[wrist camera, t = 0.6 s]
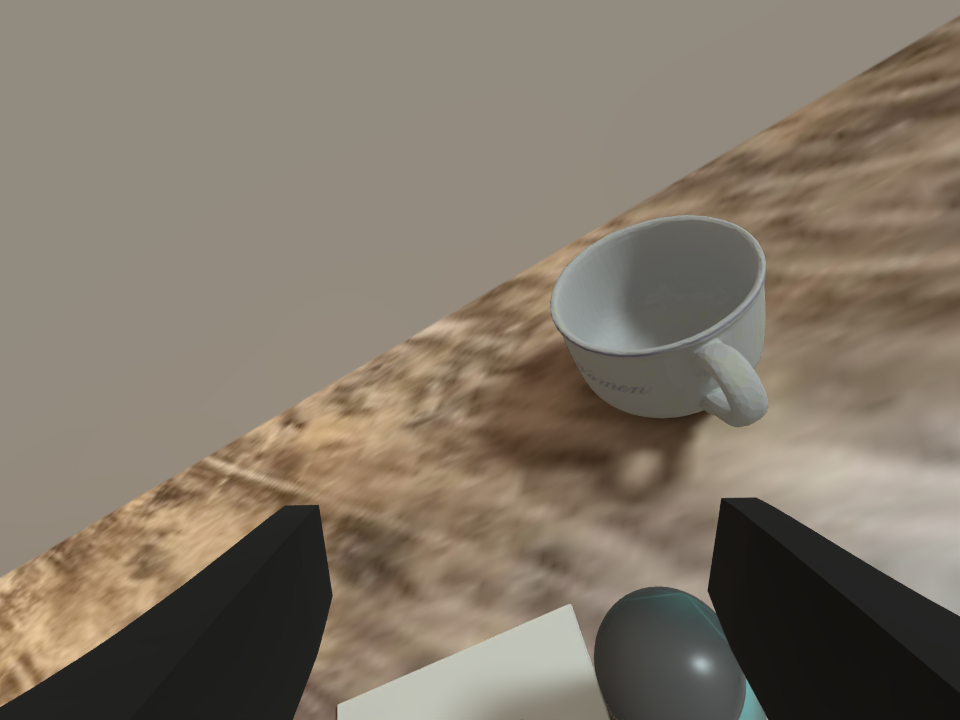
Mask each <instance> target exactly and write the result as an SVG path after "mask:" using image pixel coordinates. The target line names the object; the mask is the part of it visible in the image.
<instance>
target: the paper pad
mask: <svg viewBox="0 0 960 720" xmlns="http://www.w3.org/2000/svg"><path fill="white" fill-rule="evenodd" d="M337 720H611V719H610V716H609V713H608V710H607V707H606V704H605V701H604V698H603V695H602V692H601V690H600V687H599V684H598V681H597V677H596V675H595V672H594V669H593V666H592V663H591V660H590V657H589V654H588V651H587V648H586V645H585V642H584V639H583V636H582V634H581V631H580V628H579V625H578V622H577V619H576V616H575V613H574V610H573V607H572V605H571V604H568V605H566V606H563V607H561V608H559V609H557V610H554V611H552V612H550V613H547V614H545V615H543V616H540V617H538V618H536V619H534V620H531V621H529V622H527V623H524V624H522V625H520V626H517V627H515V628H513V629H511V630H508V631H506V632H504V633H501V634H499V635H497V636H495V637H492V638H490V639H488V640H485V641H483V642H481V643H478V644H476V645H474V646H472V647H469V648H467V649H465V650H462V651H460V652H458V653H456V654H453V655H451V656H449V657H446V658H444V659H442V660H439V661H437V662H435V663H433V664H430V665H428V666H426V667H423V668H421V669H419V670H417V671H414V672H412V673H410V674H407V675H405V676H403V677H400V678H398V679H396V680H394V681H391V682H389V683H387V684H384V685H382V686H380V687H377V688H375V689H373V690H371V691H368V692H366V693H364V694H361V695H359V696H357V697H355V698H352V699H350V700H348V701H345V702H343V703H341V704H338V708H337Z"/></svg>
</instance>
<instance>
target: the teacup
mask: <svg viewBox="0 0 960 720" xmlns="http://www.w3.org/2000/svg"><path fill="white" fill-rule="evenodd" d="M765 277H766V261H765V256H764V253H763V251H762V249H761V247H760V245H759V243H758V242H757V240H756V239H755V238H754V237H753V236H752V235H751V234H750V233H748V232H747V231H746V230H744V229H743V228H741V227H739V226H738V225H735V224H733V223H730V222H727V221H724V220H721V219H716V218H712V217H706V216H693V215H682V216H670V217H663V218H658V219H653V220H648V221H645V222H641V223H638V224H635V225H631V226H629V227H626V228H624V229H621V230H618V231H615V232H612V233H610V234H608V235H606V236H605V237H604V238H602V239H600V240H599V241H597V242H595V243H594V244H592V245H590V246H589V247H587V248H586V249H584V250H583V251H582V252H581V253H580V254H579V255H577V256H576V257H575V258H574V259H573V260H572V261H571V262H570V263H569V264H568V265H567V267H566V268H565V269H564V270H563V272H562V273H561V274H560V276H559V278H558V280H557V281H556V284H555V286H554V288H553V291H552V296H551V301H550V303H551V305H550V309H551V316H552V318H553V322H554V324H555V326H556V328H557V329H558V331H559V332H560V333H561V334H562V336H563V338H564V340H565V343H566V345H567V347H568V349H569V351H570V353H571V355H572V358H573V360H574V362H575V364H576V365H577V367H578V369H579V371H580V373H581V374H582V376H583V378H584V379H585V381H586V382H587V384H588V385H589V386H590V388H591V389H592V390H593V391H594V392H595V393H596V394H597V395H598V396H599V397H600V398H601V399H603V400H604V401H605V402H607V403H608V404H610V405H611V406H613V407H615V408H617V409H619V410H621V411H624V412H627V413H630V414H633V415H638V416H643V417H649V418H674V417H681V416H687V415H691V414H694V413H698V412H701V411H703V410H705V411H706V412H708V413H710V414H713V415H715V416H717V417H718V418H720V419H721V420H723V421H724V422H725V423H727V424H729V425H731V426H733V427H742V426H748V425H750V424H752V423H754V422H756V421H758V420H759V419H761V418H762V417H763V416H764V415H765V413H766V412H767V408H768V399H767V395H766V392H765V389H764V387H763V385H762V383H761V380H760V378H759V376H758V375H757V374H756V372H755V371H754V370H755V368H756V366H757V363H758V361H759V359H760V357H761V353H762V349H763V344H764V338H765V291H764V282H765Z"/></svg>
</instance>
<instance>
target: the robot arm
mask: <svg viewBox="0 0 960 720" xmlns="http://www.w3.org/2000/svg"><path fill="white" fill-rule="evenodd" d="M708 593H709V595H710V598H711V601H712V603H713V606H714V609H715V611H716V614H717V617H718V619H719V622H720V624H721V627H722V629H723V632H724V634H725V637H726V639H727V641H728V644H729V646H730V649H731V651H732V652H733V654H734V656H735V658H736V660H737V662H738V664H739V666H740V668H741V670H742V672H743V674H744V675H745V677H746V679H747V681H748V683H749V685H750V687H751V689H752V690H753V692H754V694H755V696H756V698H757V700H758V702H759V704H760V705H761V707H762V709H763V711H764V713H765V715H766V716H767V718H768V720H960V616H958V615H956V614H954V613H953V612H951V611H949V610H947V609H945V608H944V607H942V606H940V605H938V604H936V603H935V602H933V601H931V600H929V599H927V598H926V597H924V596H922V595H920V594H919V593H917V592H915V591H913V590H912V589H910V588H908V587H906V586H905V585H903V584H901V583H900V582H898V581H896V580H894V579H893V578H891V577H889V576H888V575H886V574H884V573H883V572H881V571H879V570H877V569H876V568H874V567H872V566H871V565H869V564H867V563H866V562H864V561H862V560H861V559H859V558H857V557H856V556H854V555H853V554H851V553H849V552H848V551H846V550H844V549H843V548H841V547H839V546H838V545H836V544H834V543H833V542H831V541H830V540H828V539H826V538H825V537H823V536H821V535H820V534H818V533H817V532H815V531H813V530H812V529H810V528H808V527H807V526H805V525H803V524H802V523H800V522H798V521H797V520H795V519H793V518H792V517H790V516H788V515H787V514H785V513H783V512H782V511H780V510H778V509H777V508H775V507H773V506H771V505H769V504H768V503H766V502H764V501H762V500H760V499H758V498H721V504H720V511H719V518H718V524H717V531H716V538H715V545H714V551H713V558H712V565H711V571H710V578H709V585H708ZM332 596H333V595H332V589H331V582H330V576H329V569H328V563H327V556H326V549H325V543H324V536H323V530H322V523H321V517H320V510H319V505H293V506H284V507H283V508H281V509H280V510H279V511H277V512H276V513H274V514H273V515H272V516H270V517H269V518H268V519H267V520H265V521H264V522H263V523H261V524H260V525H259V526H258V527H256V528H255V529H254V530H253V531H251V532H250V533H249V534H248V535H246V536H245V537H244V538H243V539H241V540H240V541H239V542H238V543H236V544H235V545H234V546H233V547H231V548H230V549H229V550H228V551H226V552H225V553H224V554H222V555H221V556H220V557H219V558H217V559H216V560H215V561H213V562H212V563H211V564H210V565H208V566H207V567H206V568H205V569H203V570H202V571H201V572H199V573H198V574H197V575H196V576H194V577H193V578H192V579H190V580H189V581H188V582H187V583H185V584H184V585H183V586H181V587H180V588H178V589H177V590H176V591H174V592H173V593H172V594H170V595H169V596H167V597H166V598H165V599H163V600H162V601H161V602H159V603H158V604H156V605H155V606H154V607H152V608H151V609H150V610H148V611H147V612H145V613H144V614H143V615H141V616H140V617H139V618H137V619H136V620H134V621H133V622H132V623H130V624H129V625H128V626H126V627H125V628H123V629H122V630H121V631H119V632H118V633H116V634H115V635H113V636H112V637H110V638H109V639H108V640H106V641H105V642H103V643H102V644H100V645H99V646H97V647H96V648H94V649H93V650H91V651H90V652H88V653H87V654H85V655H84V656H82V657H81V658H79V659H77V660H76V661H74V662H73V663H71V664H70V665H68V666H66V667H65V668H63V669H62V670H60V671H59V672H57V673H55V674H54V675H52V676H51V677H49V678H47V679H46V680H44V681H43V682H41V683H40V684H38V685H36V686H35V687H33V688H32V689H30V690H28V691H27V692H25V693H23V694H22V695H20V696H18V697H17V698H15V699H14V700H12V701H10V702H8V703H7V704H5V705H3V706H1V707H0V720H293V718H294V715H295V712H296V710H297V707H298V705H299V702H300V699H301V697H302V694H303V691H304V689H305V686H306V684H307V681H308V678H309V676H310V673H311V670H312V668H313V665H314V662H315V660H316V657H317V654H318V651H319V647H320V643H321V640H322V636H323V632H324V629H325V625H326V621H327V616H328V612H329V608H330V604H331V600H332Z"/></svg>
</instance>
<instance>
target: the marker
mask: <svg viewBox="0 0 960 720" xmlns="http://www.w3.org/2000/svg"><path fill="white" fill-rule="evenodd" d="M594 665H595V672H596V677H597V681H598V684H599V687H600V690H601V692H602V695H603V697H604V699H605V701H606V703H607V705H608V706H609V708H610V709H611V711H612V712H613V714H614V715H615V716H616V717H617V719H618V720H766V715H765V713H764V711H763V709H762V707H761V705H760V704H759V702H758V700H757V698H756V696H755V694H754V692H753V690H752V689H751V687H750V685H749V683H748V681H747V679H746V677H745V675H744V674H743V672H742V670H741V668H740V666H739V664H738V662H737V660H736V658H735V656H734V654H733V652H732V651H731V649H730V646H729V644H728V641H727V639H726V637H725V634H724V632H723V629H722V627H721V624H720V622H719V619H718V617H717V614H716V613H715V612H714V611H713V610H712V609H711V608H710V607H709V606H708V605H706V604H705V603H704V602H703V601H701V600H699V599H698V598H696V597H695V596H693V595H690V594H688V593H686V592H684V591H681V590H678V589H674V588H669V587H648V588H643V589H639V590H636V591H634V592H631V593H630V594H628V595H626V596H624V597H623V598H621V599H620V600H619V601H618V602H617V603H615V604H614V605H613V606H612V608H611V609H610V610H609V611H608V612H607V614H606V616H605V617H604V619H603V621H602V623H601V625H600V627H599V630H598V633H597V637H596V642H595V649H594Z"/></svg>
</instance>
